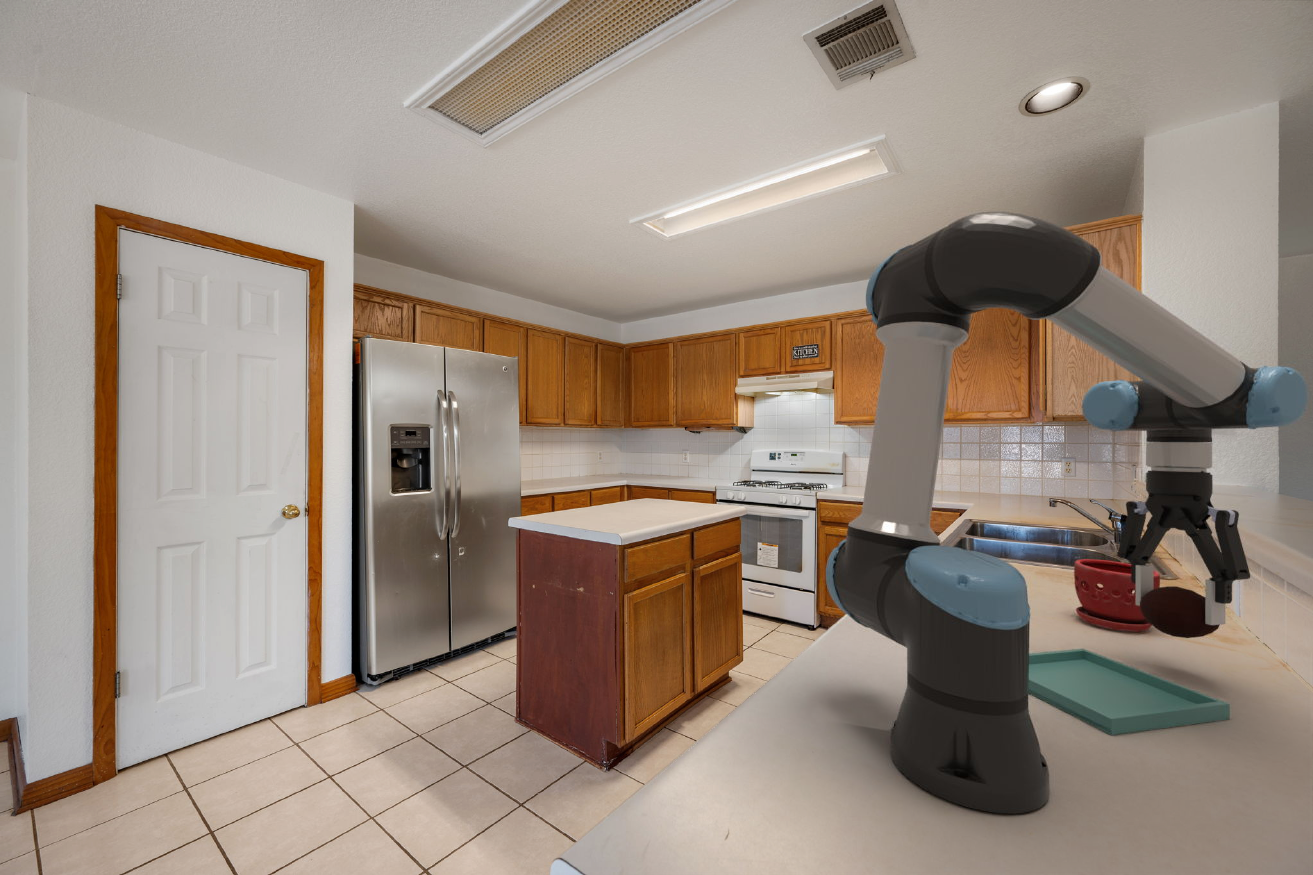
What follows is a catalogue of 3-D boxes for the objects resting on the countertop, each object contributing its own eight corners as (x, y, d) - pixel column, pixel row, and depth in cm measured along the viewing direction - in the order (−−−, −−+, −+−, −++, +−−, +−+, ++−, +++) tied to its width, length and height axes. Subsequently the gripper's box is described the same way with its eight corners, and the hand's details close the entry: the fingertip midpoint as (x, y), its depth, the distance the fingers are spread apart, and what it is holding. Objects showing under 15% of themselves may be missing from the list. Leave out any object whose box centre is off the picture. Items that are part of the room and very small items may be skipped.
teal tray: (1111, 735, 67) (1111, 718, 67) (983, 670, 86) (983, 657, 86) (1230, 718, 71) (1230, 703, 71) (1083, 660, 90) (1083, 648, 90)
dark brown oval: (1148, 623, 90) (1148, 577, 91) (1227, 640, 83) (1227, 590, 83) (1131, 632, 86) (1131, 583, 86) (1213, 651, 78) (1213, 597, 78)
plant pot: (1092, 632, 104) (1092, 570, 104) (1063, 612, 116) (1063, 556, 116) (1176, 640, 100) (1176, 575, 100) (1136, 618, 112) (1136, 560, 113)
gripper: (1288, 473, 75) (1289, 636, 75) (1124, 467, 96) (1123, 594, 96) (1248, 473, 73) (1248, 639, 73) (1090, 466, 95) (1089, 595, 94)
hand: (1178, 613), depth 84 cm, fingers closed on dark brown oval, 9 cm apart
